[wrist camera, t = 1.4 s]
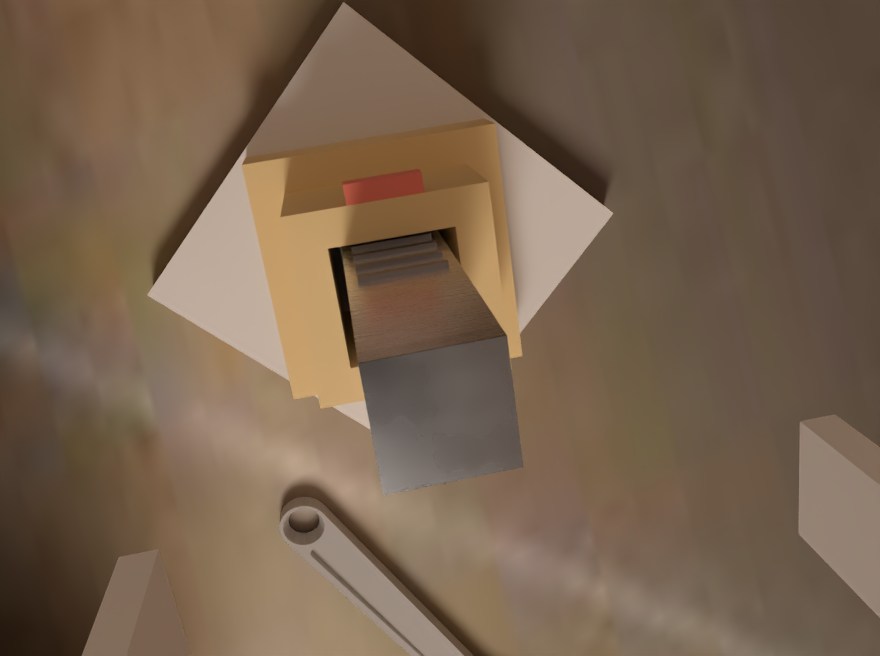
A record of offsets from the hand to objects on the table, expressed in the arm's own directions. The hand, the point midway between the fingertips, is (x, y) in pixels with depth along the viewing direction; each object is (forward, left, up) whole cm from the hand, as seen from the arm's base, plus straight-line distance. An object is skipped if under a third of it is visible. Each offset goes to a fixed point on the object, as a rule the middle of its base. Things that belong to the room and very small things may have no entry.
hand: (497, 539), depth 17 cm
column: (0, 0, -24) cm, 24 cm away
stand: (0, 0, -26) cm, 26 cm away
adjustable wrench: (-17, -17, -27) cm, 36 cm away
